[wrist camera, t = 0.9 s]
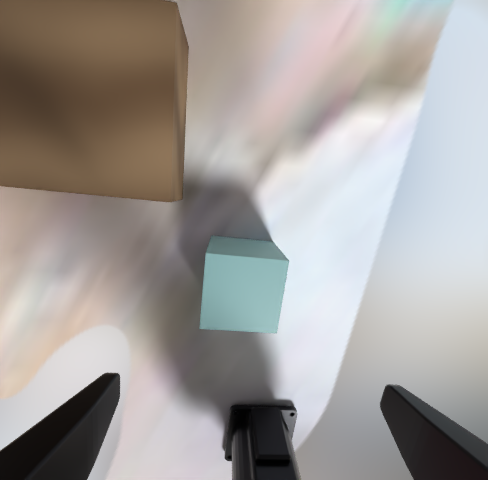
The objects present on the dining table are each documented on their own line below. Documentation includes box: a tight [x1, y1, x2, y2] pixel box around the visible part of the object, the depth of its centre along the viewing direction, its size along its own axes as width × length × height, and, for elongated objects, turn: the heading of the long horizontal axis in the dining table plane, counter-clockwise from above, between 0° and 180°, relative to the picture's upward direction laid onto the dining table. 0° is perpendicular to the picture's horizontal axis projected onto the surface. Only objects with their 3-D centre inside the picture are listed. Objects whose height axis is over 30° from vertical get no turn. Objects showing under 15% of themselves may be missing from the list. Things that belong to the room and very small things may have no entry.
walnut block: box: [0, 0, 189, 202], centre depth 14 cm, size 10×10×4 cm
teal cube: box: [199, 236, 289, 333], centre depth 16 cm, size 5×5×5 cm
